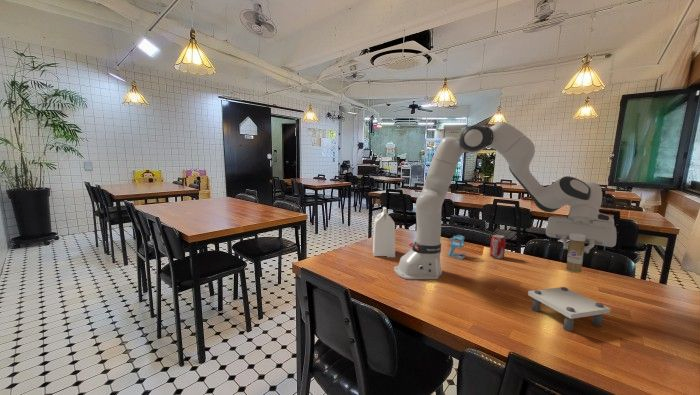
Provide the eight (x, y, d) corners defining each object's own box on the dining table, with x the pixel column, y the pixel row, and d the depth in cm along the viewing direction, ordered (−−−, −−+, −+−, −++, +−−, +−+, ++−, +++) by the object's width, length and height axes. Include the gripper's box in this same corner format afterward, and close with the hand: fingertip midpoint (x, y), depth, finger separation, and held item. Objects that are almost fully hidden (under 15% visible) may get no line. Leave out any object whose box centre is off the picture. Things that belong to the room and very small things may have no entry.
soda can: (505, 260, 156) (507, 238, 154) (491, 258, 157) (493, 237, 155) (501, 255, 163) (503, 234, 161) (488, 254, 164) (489, 234, 162)
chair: (451, 253, 166) (452, 232, 165) (466, 256, 161) (467, 234, 160) (446, 256, 160) (447, 235, 158) (462, 259, 155) (463, 238, 154)
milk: (395, 257, 158) (396, 210, 154) (374, 256, 158) (375, 209, 155) (392, 250, 170) (393, 206, 166) (372, 249, 170) (373, 206, 166)
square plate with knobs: (568, 333, 90) (571, 312, 89) (526, 307, 106) (528, 289, 105) (607, 327, 94) (610, 306, 93) (561, 303, 110) (563, 285, 109)
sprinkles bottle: (565, 271, 104) (569, 234, 102) (566, 267, 108) (570, 232, 106) (581, 274, 101) (585, 236, 99) (582, 270, 105) (586, 234, 103)
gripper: (548, 210, 114) (540, 239, 108) (619, 218, 100) (614, 252, 94) (549, 219, 118) (541, 248, 112) (618, 228, 104) (613, 262, 98)
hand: (575, 250), depth 103 cm, fingers closed on sprinkles bottle, 4 cm apart
